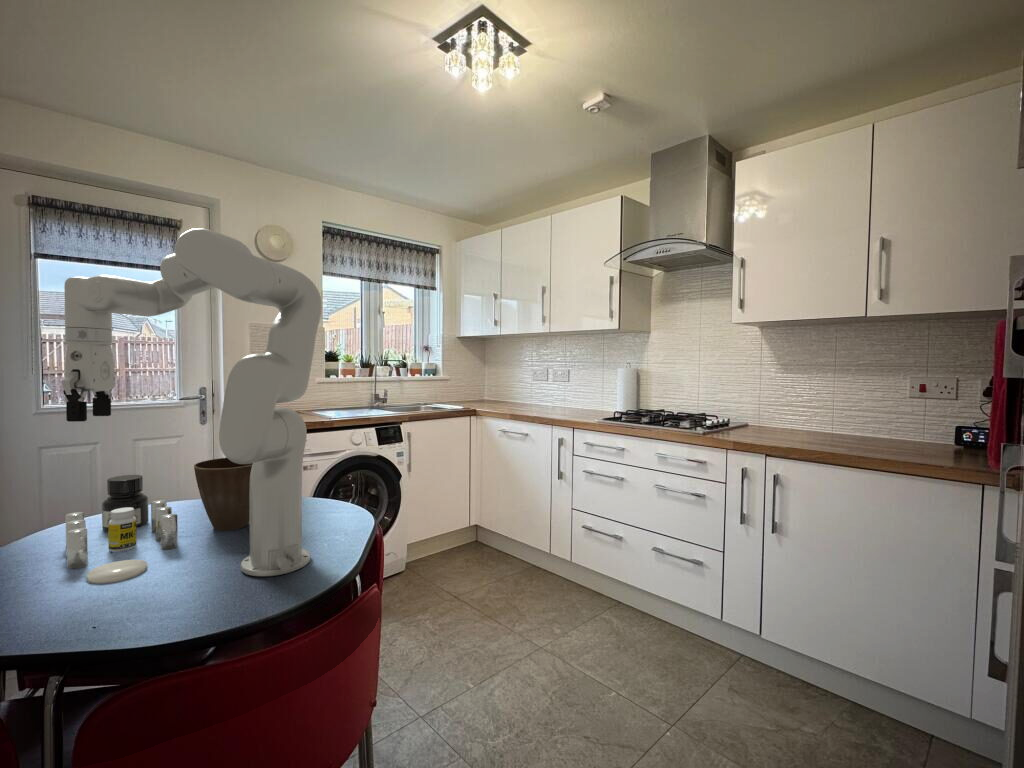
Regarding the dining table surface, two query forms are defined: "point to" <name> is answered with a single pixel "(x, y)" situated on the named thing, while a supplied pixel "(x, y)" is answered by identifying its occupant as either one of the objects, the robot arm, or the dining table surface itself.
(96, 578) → the coaster
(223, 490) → the plant pot
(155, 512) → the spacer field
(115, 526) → the supplement bottle
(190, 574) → the dining table surface
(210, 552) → the dining table surface
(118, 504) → the ink bottle
